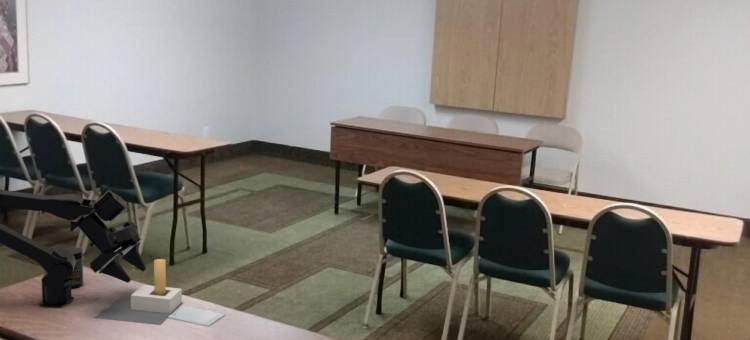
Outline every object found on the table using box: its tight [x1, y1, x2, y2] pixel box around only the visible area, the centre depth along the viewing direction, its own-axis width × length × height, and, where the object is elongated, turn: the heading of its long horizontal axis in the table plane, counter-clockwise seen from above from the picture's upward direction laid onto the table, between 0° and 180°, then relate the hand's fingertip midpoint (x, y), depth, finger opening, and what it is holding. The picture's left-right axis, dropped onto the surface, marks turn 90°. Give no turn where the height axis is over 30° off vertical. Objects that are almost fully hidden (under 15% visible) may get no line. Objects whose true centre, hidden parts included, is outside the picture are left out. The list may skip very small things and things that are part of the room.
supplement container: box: [63, 246, 85, 290], centre depth 212 cm, size 7×7×10 cm
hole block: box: [130, 284, 183, 313], centre depth 200 cm, size 11×8×4 cm
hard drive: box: [167, 305, 226, 328], centre depth 195 cm, size 2×8×12 cm
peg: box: [153, 258, 167, 296], centre depth 199 cm, size 3×3×13 cm
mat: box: [94, 295, 184, 326], centre depth 197 cm, size 18×16×1 cm
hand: (137, 275), depth 199 cm, fingers open, 9 cm apart
